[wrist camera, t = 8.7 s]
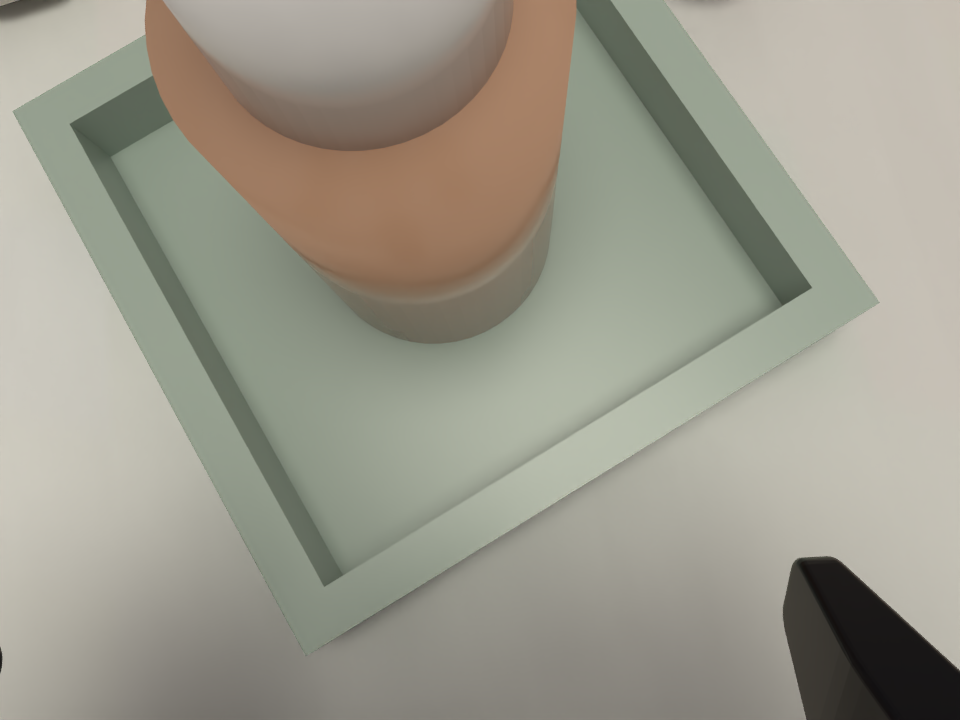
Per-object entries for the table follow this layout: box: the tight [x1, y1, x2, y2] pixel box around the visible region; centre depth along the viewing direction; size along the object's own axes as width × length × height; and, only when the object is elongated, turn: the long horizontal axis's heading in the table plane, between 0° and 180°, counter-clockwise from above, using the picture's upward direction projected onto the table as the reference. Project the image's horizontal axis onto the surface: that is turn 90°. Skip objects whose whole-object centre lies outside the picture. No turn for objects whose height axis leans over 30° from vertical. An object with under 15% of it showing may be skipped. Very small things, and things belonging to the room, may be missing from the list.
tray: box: [13, 0, 880, 656], centre depth 19 cm, size 14×14×2 cm
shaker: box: [145, 0, 577, 344], centre depth 14 cm, size 6×6×12 cm
